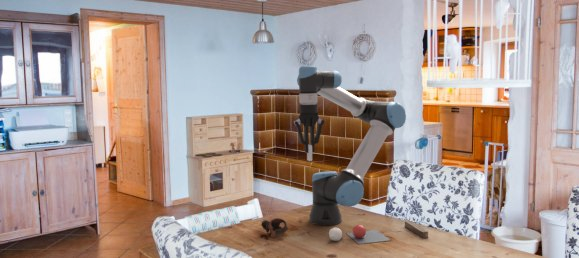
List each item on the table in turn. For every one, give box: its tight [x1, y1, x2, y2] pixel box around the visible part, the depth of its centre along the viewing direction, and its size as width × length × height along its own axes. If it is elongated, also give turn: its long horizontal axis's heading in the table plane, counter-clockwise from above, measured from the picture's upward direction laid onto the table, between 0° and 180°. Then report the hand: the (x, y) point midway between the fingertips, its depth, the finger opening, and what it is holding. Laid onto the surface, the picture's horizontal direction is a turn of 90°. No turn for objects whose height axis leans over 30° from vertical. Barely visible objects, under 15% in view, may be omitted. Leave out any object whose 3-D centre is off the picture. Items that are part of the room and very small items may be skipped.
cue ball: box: [328, 227, 343, 242], centre depth 195 cm, size 6×6×6 cm
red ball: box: [352, 224, 367, 238], centre depth 197 cm, size 6×6×6 cm
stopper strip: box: [404, 220, 429, 239], centre depth 203 cm, size 2×16×2 cm, turn 13°
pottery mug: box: [260, 217, 289, 239], centre depth 204 cm, size 12×10×8 cm
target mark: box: [346, 229, 391, 245], centre depth 199 cm, size 14×14×1 cm
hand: (309, 160), depth 198 cm, fingers closed
